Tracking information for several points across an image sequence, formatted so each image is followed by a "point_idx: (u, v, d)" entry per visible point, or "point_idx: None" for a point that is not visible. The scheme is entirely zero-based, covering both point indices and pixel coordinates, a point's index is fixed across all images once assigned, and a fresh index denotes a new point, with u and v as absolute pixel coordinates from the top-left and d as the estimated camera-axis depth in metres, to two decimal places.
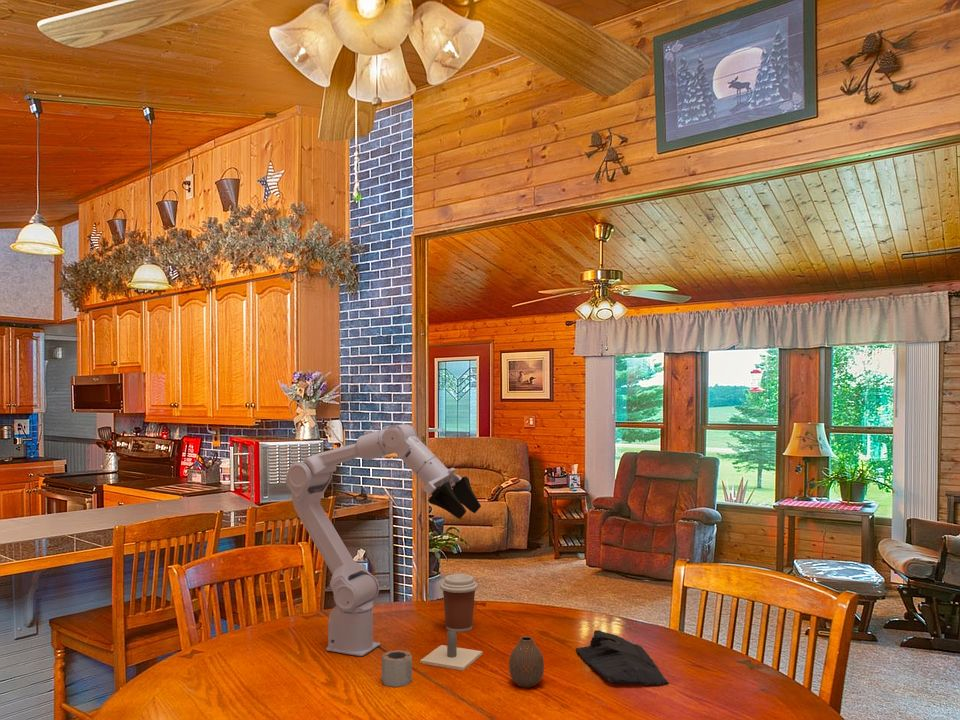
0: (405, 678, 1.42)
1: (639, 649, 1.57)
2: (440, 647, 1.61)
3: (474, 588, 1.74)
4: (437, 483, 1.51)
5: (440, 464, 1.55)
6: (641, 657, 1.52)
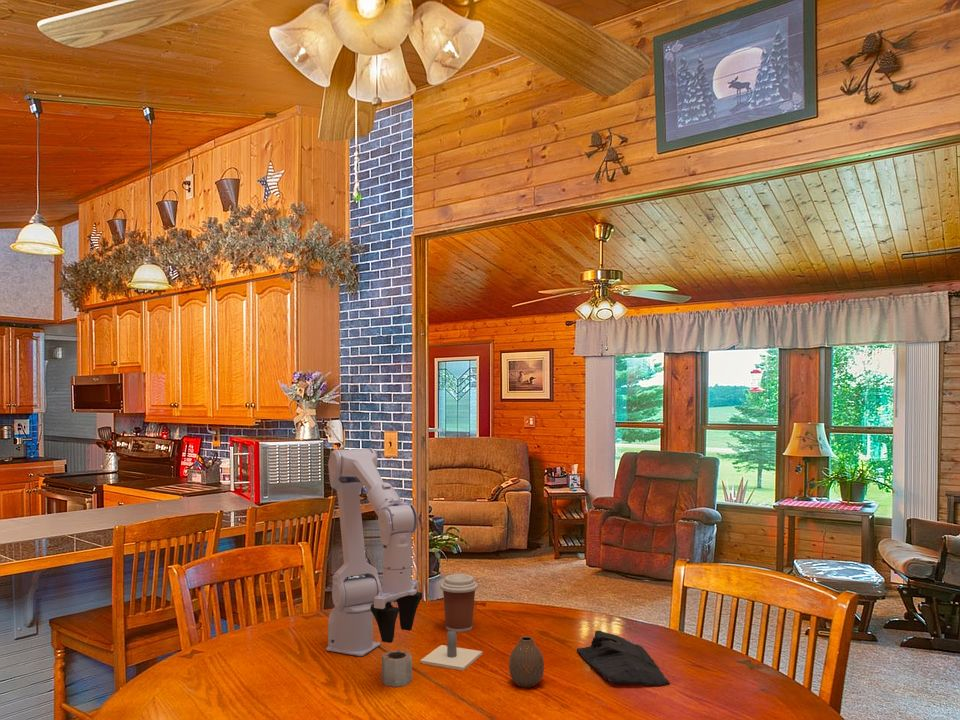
0: (405, 678, 1.42)
1: (640, 649, 1.57)
2: (440, 647, 1.61)
3: (474, 588, 1.74)
4: None
5: (408, 578, 1.44)
6: (642, 657, 1.52)
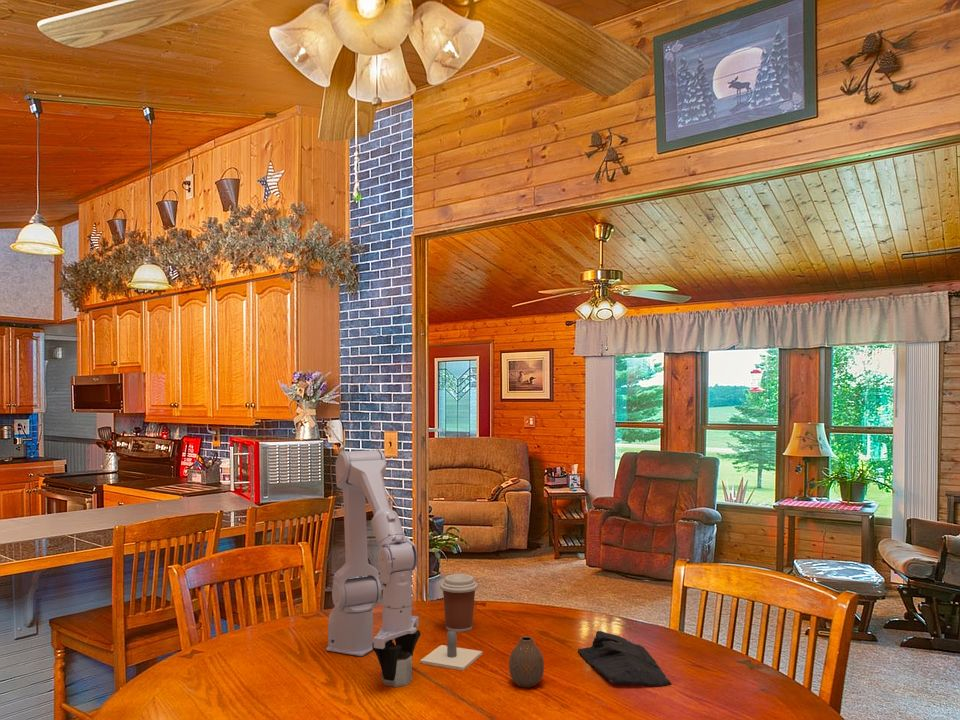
0: (405, 678, 1.42)
1: (641, 650, 1.57)
2: (440, 647, 1.61)
3: (474, 588, 1.74)
4: None
5: (408, 617, 1.43)
6: (643, 658, 1.52)
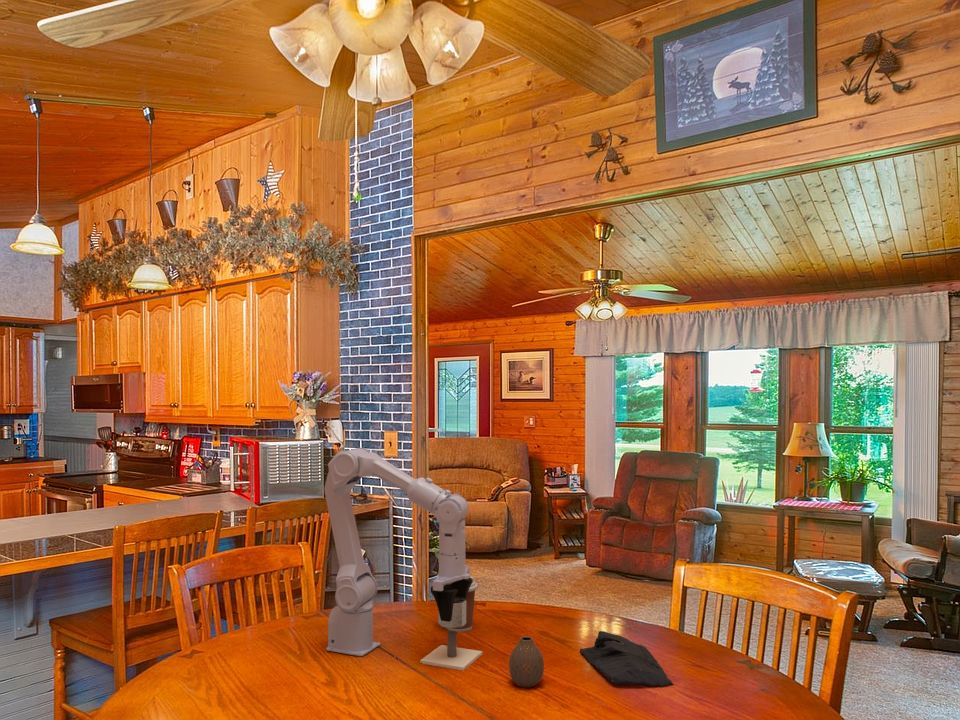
0: (461, 620, 1.54)
1: (643, 650, 1.57)
2: (440, 647, 1.61)
3: (474, 588, 1.74)
4: None
5: (463, 564, 1.55)
6: (645, 658, 1.52)
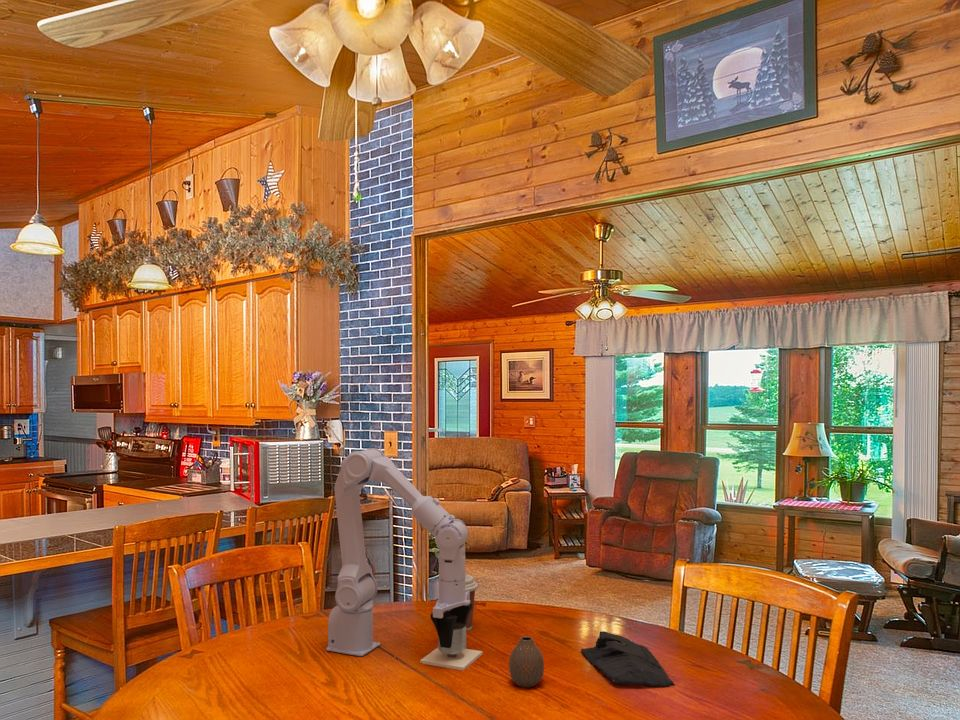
0: (461, 646, 1.54)
1: (645, 650, 1.57)
2: None
3: (474, 588, 1.74)
4: None
5: (462, 590, 1.55)
6: (647, 658, 1.51)
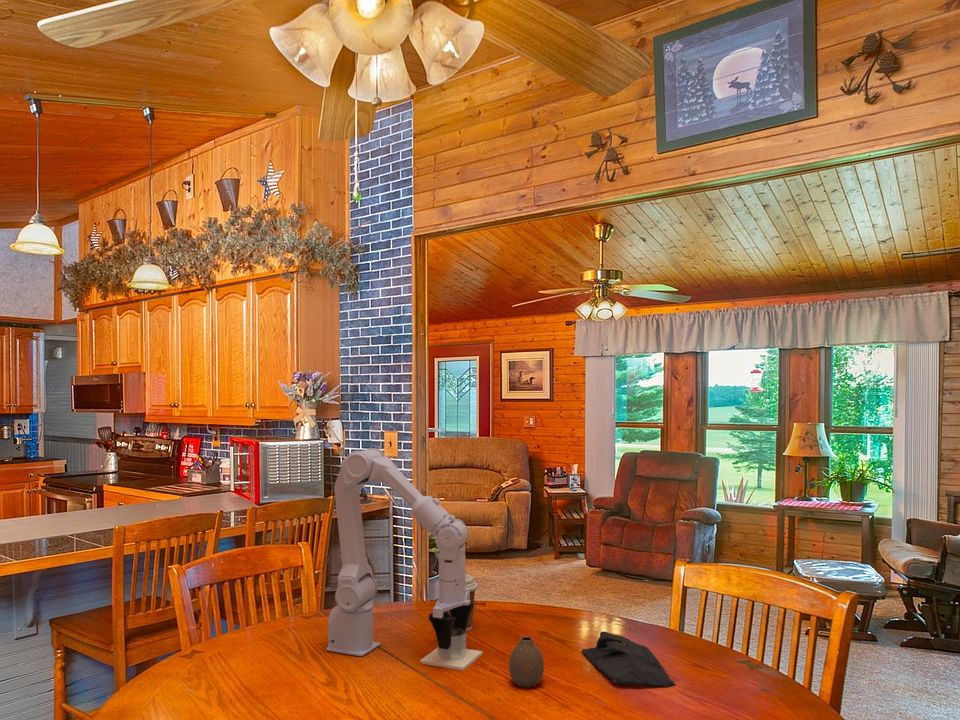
0: (460, 653, 1.54)
1: (645, 650, 1.57)
2: None
3: (474, 588, 1.74)
4: None
5: (462, 590, 1.55)
6: (647, 658, 1.51)
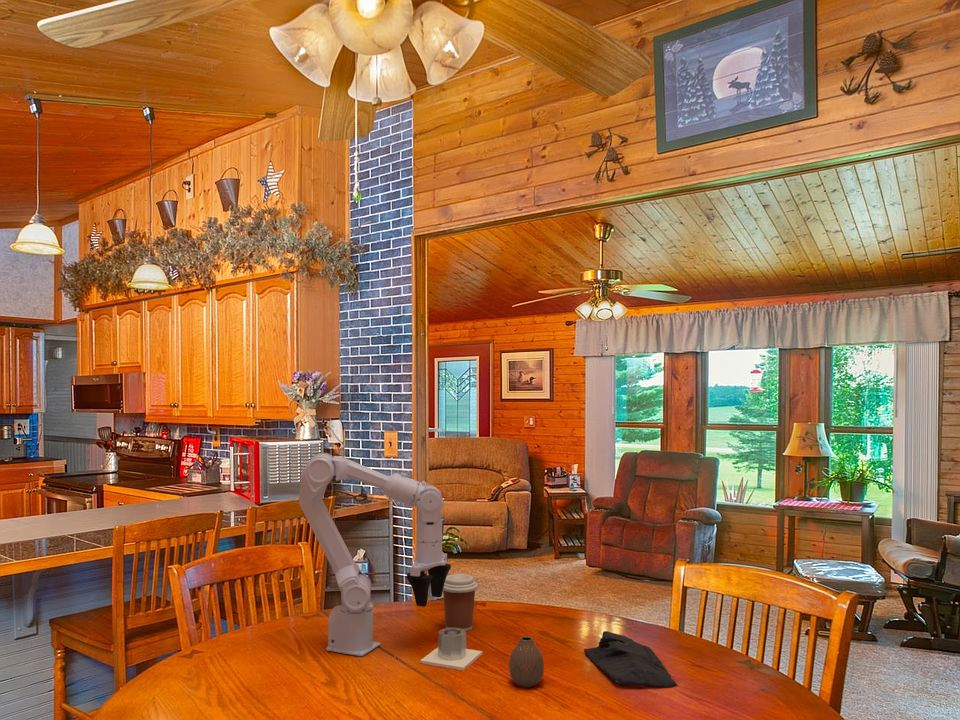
0: (460, 653, 1.54)
1: (648, 650, 1.57)
2: None
3: (474, 588, 1.74)
4: None
5: (439, 551, 1.63)
6: (650, 658, 1.51)
